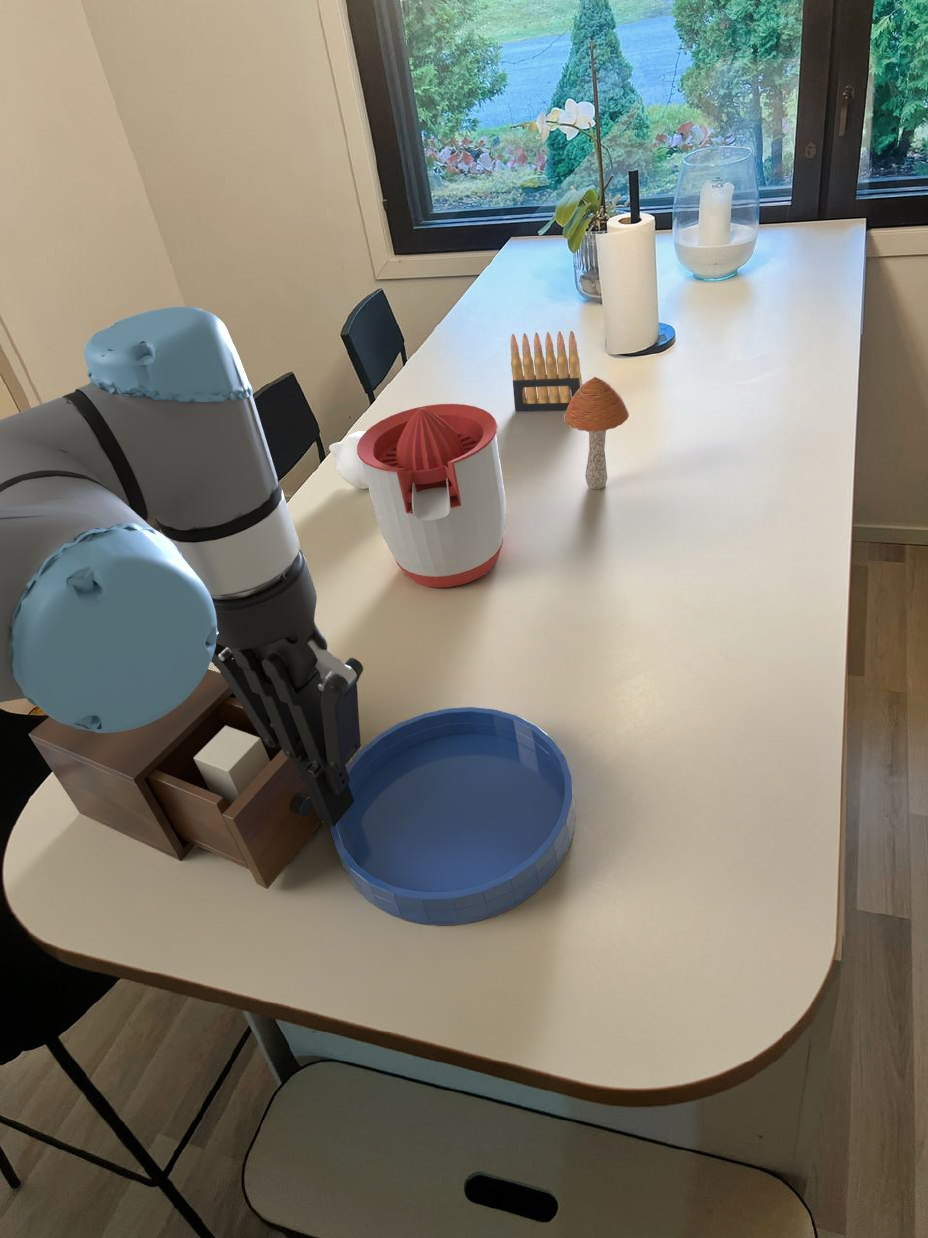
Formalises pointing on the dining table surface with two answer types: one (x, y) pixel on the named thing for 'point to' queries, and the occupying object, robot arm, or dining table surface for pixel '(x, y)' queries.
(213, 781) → the block
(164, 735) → the cabinet
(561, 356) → the ammunition clip
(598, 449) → the mushroom
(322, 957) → the dining table surface
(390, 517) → the citrus juicer
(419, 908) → the bowl
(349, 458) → the cat figurine
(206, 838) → the drawer
